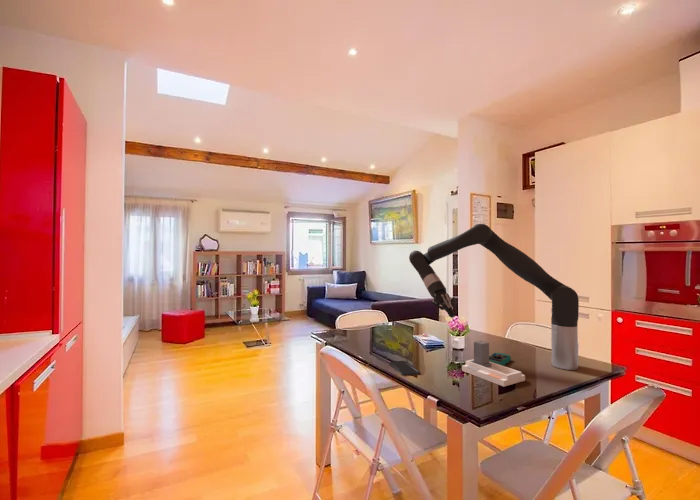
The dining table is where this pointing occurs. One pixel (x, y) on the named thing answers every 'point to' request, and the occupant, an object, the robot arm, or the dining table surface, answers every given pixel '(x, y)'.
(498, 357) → the digital multimeter
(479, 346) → the slider tab
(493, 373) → the switch housing
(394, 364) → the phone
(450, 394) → the dining table surface
